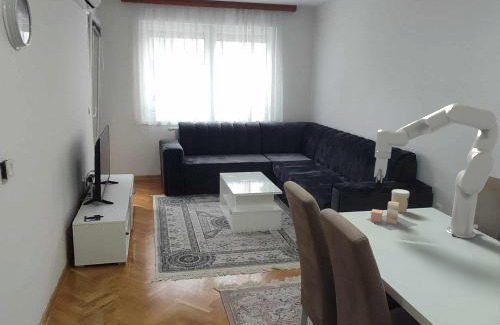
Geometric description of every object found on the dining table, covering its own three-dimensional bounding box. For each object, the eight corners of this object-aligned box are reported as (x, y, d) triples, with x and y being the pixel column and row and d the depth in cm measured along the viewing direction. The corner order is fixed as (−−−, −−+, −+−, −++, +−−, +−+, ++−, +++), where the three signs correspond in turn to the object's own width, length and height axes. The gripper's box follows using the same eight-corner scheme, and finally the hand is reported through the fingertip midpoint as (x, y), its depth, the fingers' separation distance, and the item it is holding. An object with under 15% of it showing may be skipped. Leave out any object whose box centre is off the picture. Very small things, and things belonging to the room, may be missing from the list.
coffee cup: (410, 214, 217) (412, 193, 215) (393, 214, 217) (395, 193, 215) (403, 209, 227) (406, 189, 224) (387, 209, 227) (389, 188, 224)
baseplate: (392, 216, 214) (392, 214, 214) (418, 226, 199) (418, 224, 199) (365, 220, 206) (365, 219, 206) (389, 232, 191) (390, 230, 191)
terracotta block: (371, 218, 207) (372, 209, 206) (381, 219, 206) (382, 210, 204) (370, 221, 203) (371, 211, 202) (380, 222, 201) (381, 213, 200)
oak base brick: (386, 219, 206) (387, 210, 205) (397, 221, 204) (398, 212, 203) (385, 222, 201) (386, 213, 200) (396, 224, 199) (397, 214, 198)
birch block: (387, 210, 205) (388, 201, 204) (398, 212, 203) (399, 202, 202) (386, 213, 200) (387, 203, 199) (397, 214, 198) (398, 205, 197)
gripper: (377, 151, 206) (373, 182, 210) (372, 156, 191) (369, 190, 194) (392, 152, 203) (388, 184, 207) (389, 158, 188) (385, 193, 191)
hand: (379, 187), depth 201 cm, fingers open, 9 cm apart
